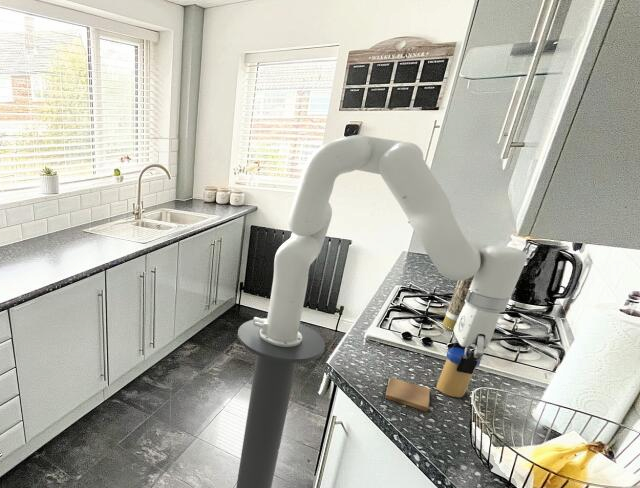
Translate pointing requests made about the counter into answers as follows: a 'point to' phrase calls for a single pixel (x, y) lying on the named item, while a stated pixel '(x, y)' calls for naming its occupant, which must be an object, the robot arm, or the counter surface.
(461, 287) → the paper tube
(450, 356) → the jar lid
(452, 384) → the jar
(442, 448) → the counter surface
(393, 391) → the block
